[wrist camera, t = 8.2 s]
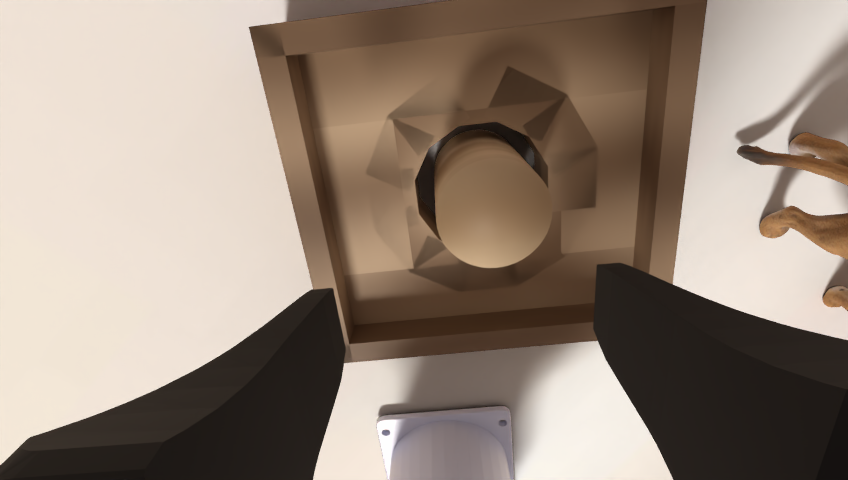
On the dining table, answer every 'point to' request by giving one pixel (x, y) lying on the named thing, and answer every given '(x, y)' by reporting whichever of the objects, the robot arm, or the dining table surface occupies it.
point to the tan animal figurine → (828, 231)
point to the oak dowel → (489, 200)
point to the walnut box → (474, 104)
